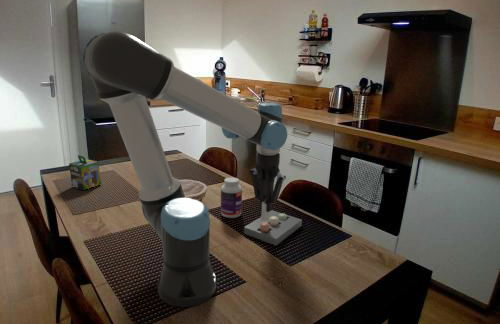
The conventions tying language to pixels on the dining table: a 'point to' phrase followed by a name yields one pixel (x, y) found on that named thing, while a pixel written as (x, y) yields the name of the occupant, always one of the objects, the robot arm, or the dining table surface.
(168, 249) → the robot arm
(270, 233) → the panel
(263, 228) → the terracotta button
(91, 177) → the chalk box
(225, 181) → the pill bottle
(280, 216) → the sage button
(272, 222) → the cream button
